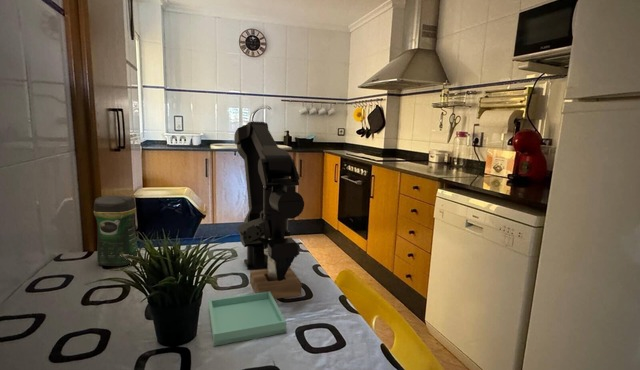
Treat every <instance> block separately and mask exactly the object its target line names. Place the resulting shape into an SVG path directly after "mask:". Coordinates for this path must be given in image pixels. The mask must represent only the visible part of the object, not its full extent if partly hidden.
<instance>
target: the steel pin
mask: <svg viewBox="0 0 640 370" xmlns="http://www.w3.org/2000/svg"><path fill="white" fill-rule="evenodd" d="M264 254H265V255H267V256H268V267H267V269H268V282H269V281H276V280H277V274H276V268H275V261H274V260H273V259H271V258H270V256H269V255H268V246H266V247H265V248H264Z"/></svg>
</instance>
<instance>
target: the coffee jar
mask: <svg viewBox="0 0 640 370" xmlns="http://www.w3.org/2000/svg"><path fill="white" fill-rule="evenodd" d="M93 202H94V203H93V215H94V217H95V220H96V224H97V249H96V250H97V253H96V254H97V255H96V256H97V257H96V258H97V263H98V265H100V266H106V267H108V266H112V267H114V266H116V267H117V266H126V265H129V264H131V263H130V262H129V261H128V260H126V259H125V258H123V257H121V256H120V254H129V255H133V256H137V251H136V248H137V247H138V248H139V246H138V240H137V236H136V229H135V228H136V227H135V214H136V212H137V207H136V201H135V198H134V197H133V196H131V195H127V196H126V195H103V196H99V197H97V198H95V200H94V201H93Z"/></svg>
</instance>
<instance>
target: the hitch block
mask: <svg viewBox="0 0 640 370" xmlns="http://www.w3.org/2000/svg"><path fill="white" fill-rule="evenodd" d="M249 280H250V281H249V283H250V286H251V287H252V290H253V294H255V293H262V292H269V291H270V292H271V294H272V296H273V298H274V300H276V299H283V298H289V297H296V296H301V295H302V281H301V280H300V279H299V277H298V276H297V275H296V273H295V272H294V271H293V269H292V268H291V266H290V267H289V269H288V270H287V272H286V274H285V276H284V278H283V280H282V281H278V280H276V281H269V282H268V268H265V269H264V268H262V269H256V270H255V269H254V270H250V273H249Z"/></svg>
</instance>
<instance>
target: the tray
mask: <svg viewBox="0 0 640 370" xmlns="http://www.w3.org/2000/svg"><path fill="white" fill-rule="evenodd" d="M207 302H208V303H207V304H208V315H209V321H210V322H209V323H210V328H211V329H210V330H211V335H212V336H211V337H212V343H213V344H212V345H213V347H215V346H220V345H226V344H227V345H228V344H231V343H238V342H243V341H247V340H254V339H258V338H259V339H260V338H264V337H269V336H274V335H281V334H285V333H286V332H287V321H286V319H285V317H284V315H283V313H282V312H281V310H280V308H279V306H278V304H277V301H276V299H274V298H273V296H272V294H271V292H270V291H269V292H262V293H250V294H249V293H248V294H242V295H235V296H234V295H233V296H228V297H219V298H214V299H213V298H212V299H208V301H207Z"/></svg>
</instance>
